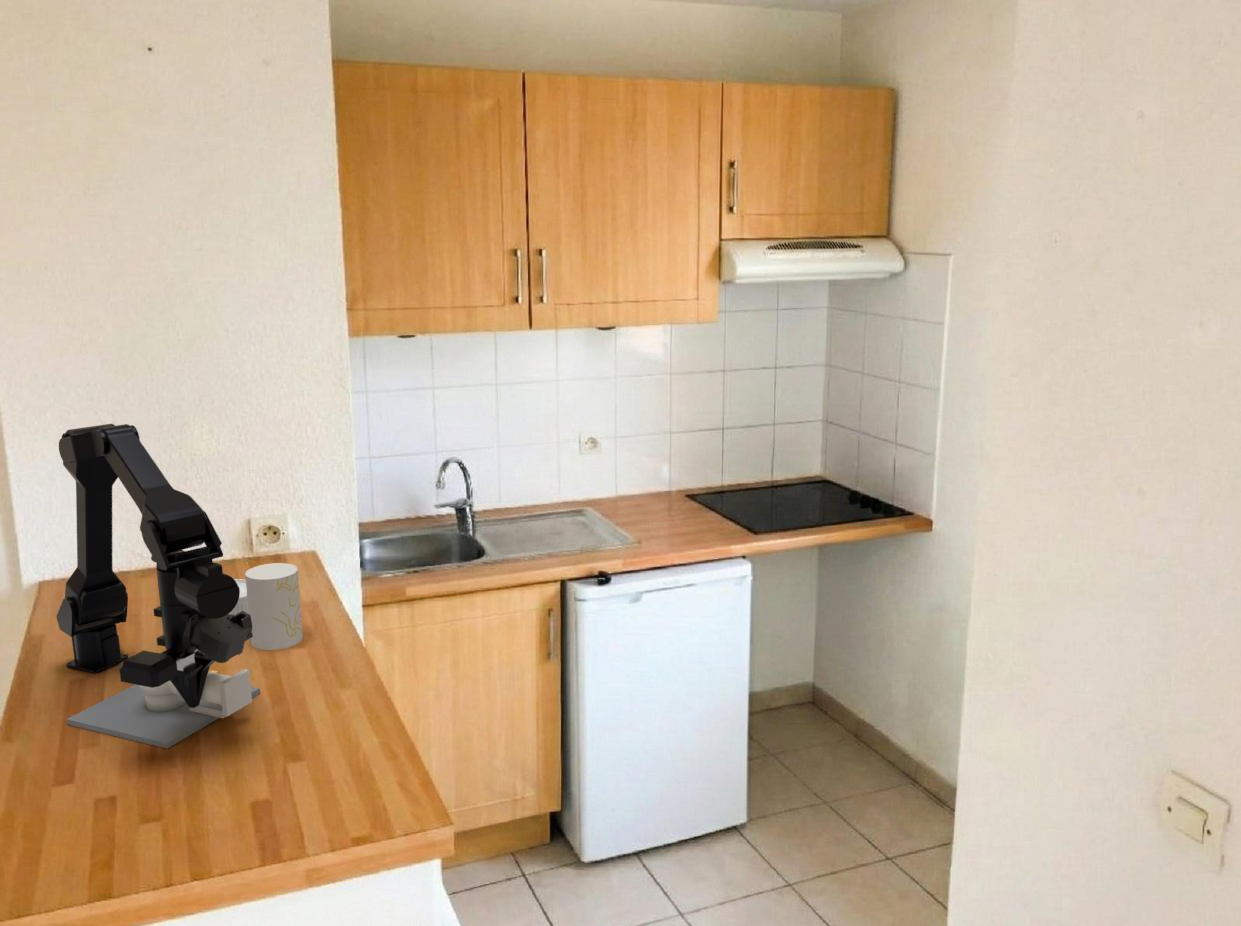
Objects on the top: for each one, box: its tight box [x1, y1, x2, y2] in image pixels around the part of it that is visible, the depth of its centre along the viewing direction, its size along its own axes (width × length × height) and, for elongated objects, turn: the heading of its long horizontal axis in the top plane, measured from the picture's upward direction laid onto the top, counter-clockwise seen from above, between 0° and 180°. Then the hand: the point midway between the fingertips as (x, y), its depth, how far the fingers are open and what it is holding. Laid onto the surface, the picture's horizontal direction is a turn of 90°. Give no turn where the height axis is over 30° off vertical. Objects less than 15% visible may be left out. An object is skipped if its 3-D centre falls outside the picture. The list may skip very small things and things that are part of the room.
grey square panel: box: [66, 669, 261, 749], centre depth 154 cm, size 20×20×3 cm
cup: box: [244, 562, 304, 651], centre depth 176 cm, size 8×8×12 cm
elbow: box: [139, 668, 253, 717], centre depth 150 cm, size 17×6×5 cm, turn 68°
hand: (193, 706), depth 146 cm, fingers closed
